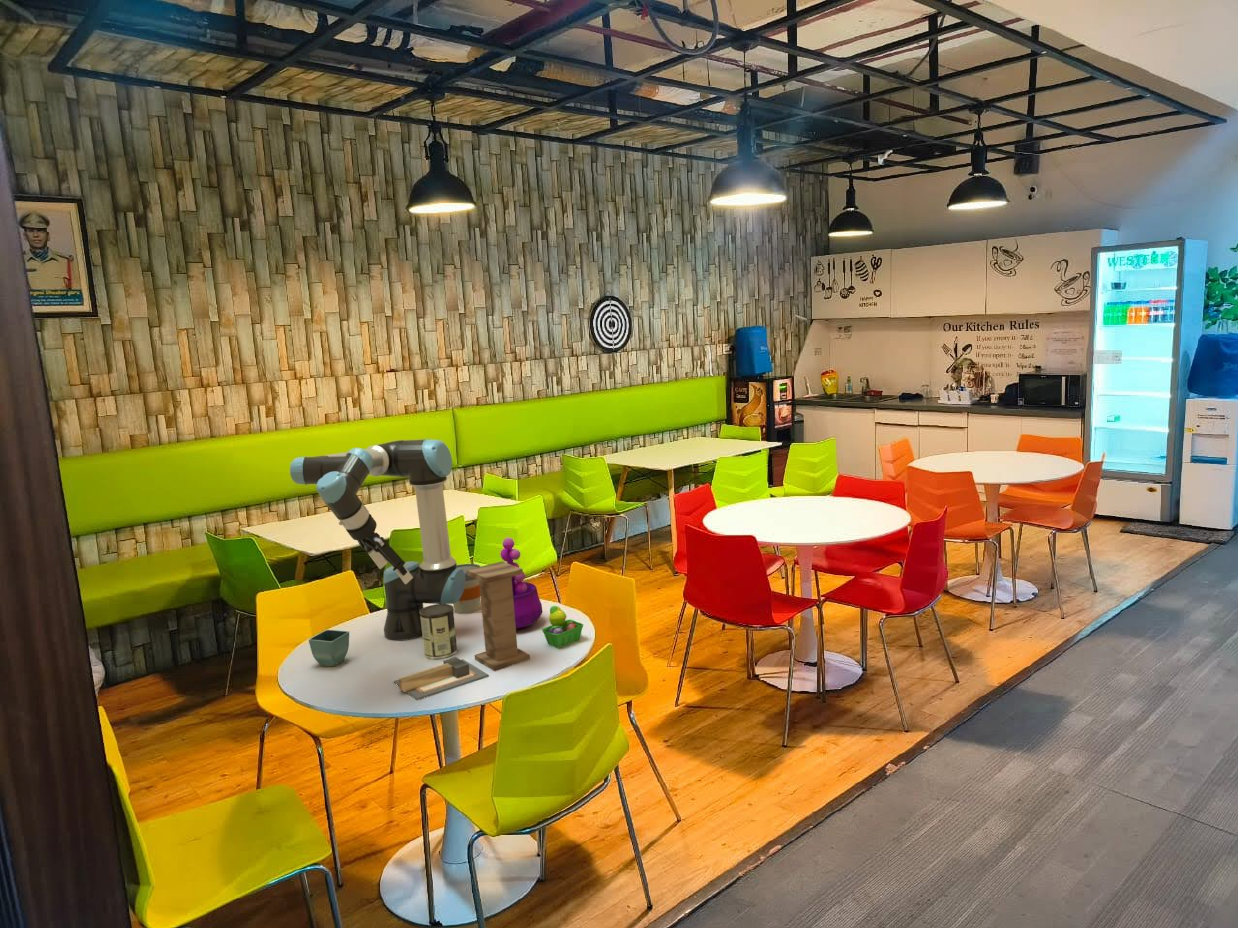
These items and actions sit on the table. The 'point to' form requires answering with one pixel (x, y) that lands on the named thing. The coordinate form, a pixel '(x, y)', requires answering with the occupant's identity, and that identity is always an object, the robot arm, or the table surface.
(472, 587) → the reusable coffee cup
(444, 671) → the wooden handled hammer
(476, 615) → the table surface
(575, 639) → the fruit basket
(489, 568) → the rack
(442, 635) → the coffee can
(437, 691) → the pad
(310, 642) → the flower pot
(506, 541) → the decorative plant
